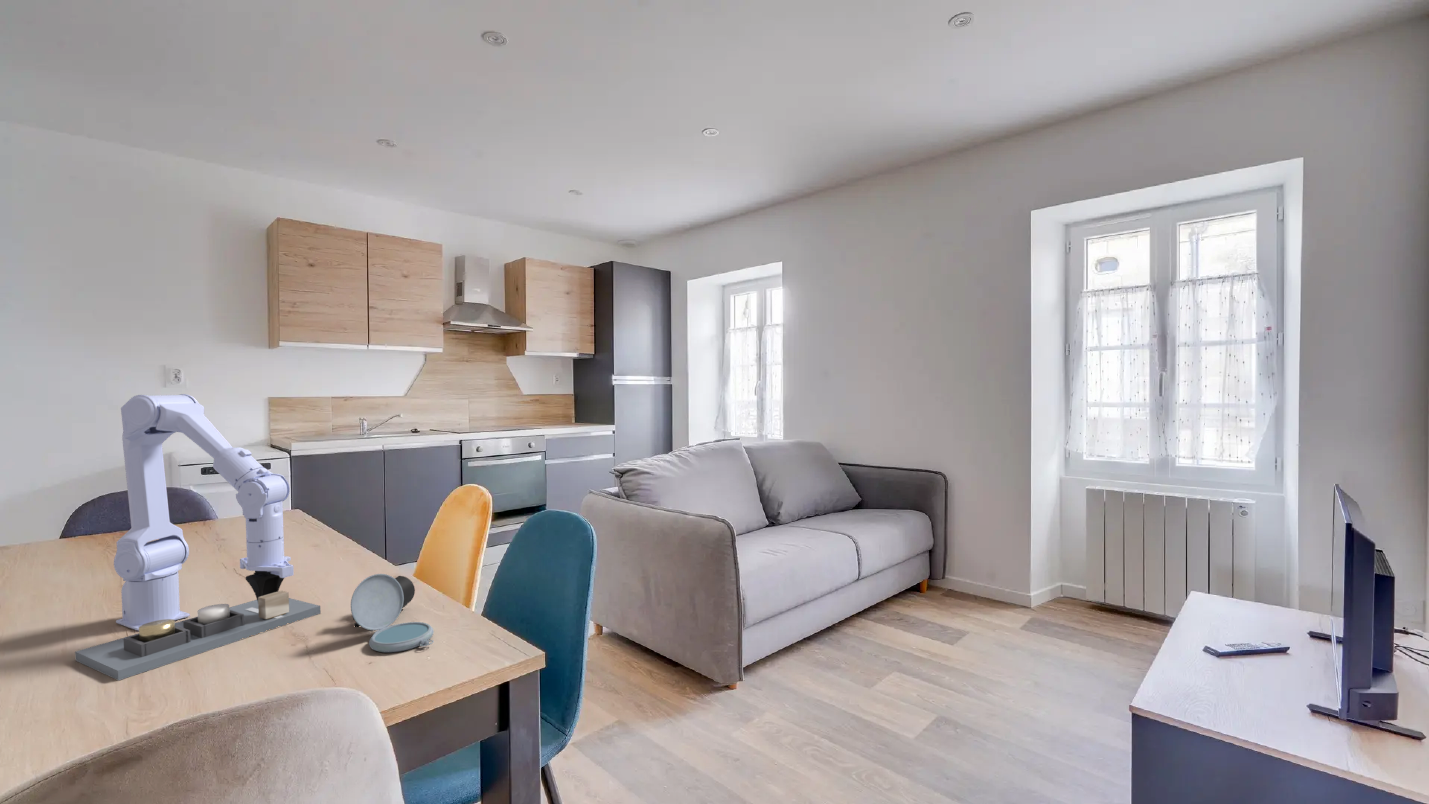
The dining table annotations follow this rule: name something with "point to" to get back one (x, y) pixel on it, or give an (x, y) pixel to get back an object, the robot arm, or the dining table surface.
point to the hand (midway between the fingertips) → (267, 609)
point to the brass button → (156, 629)
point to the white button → (213, 613)
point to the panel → (186, 640)
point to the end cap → (407, 591)
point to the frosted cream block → (273, 604)
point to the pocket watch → (386, 615)
